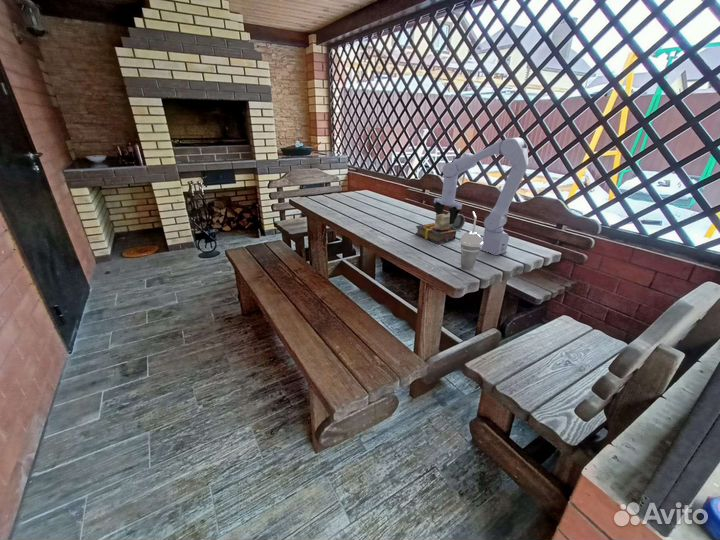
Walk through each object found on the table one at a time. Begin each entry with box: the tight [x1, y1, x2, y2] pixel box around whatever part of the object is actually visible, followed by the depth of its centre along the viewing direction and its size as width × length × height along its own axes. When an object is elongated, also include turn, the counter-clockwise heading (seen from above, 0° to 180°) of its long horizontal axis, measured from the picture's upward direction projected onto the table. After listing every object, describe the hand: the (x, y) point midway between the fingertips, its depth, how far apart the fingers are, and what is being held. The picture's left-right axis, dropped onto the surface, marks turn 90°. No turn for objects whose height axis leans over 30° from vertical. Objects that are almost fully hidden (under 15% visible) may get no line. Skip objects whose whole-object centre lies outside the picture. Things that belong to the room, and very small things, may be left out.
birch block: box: [434, 213, 450, 230], centre depth 149 cm, size 4×4×6 cm
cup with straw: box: [458, 211, 484, 271], centre depth 118 cm, size 8×9×20 cm
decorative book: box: [415, 222, 457, 245], centre depth 152 cm, size 11×16×5 cm
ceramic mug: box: [446, 212, 466, 231], centre depth 166 cm, size 11×8×8 cm
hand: (445, 221), depth 148 cm, fingers open, 7 cm apart
